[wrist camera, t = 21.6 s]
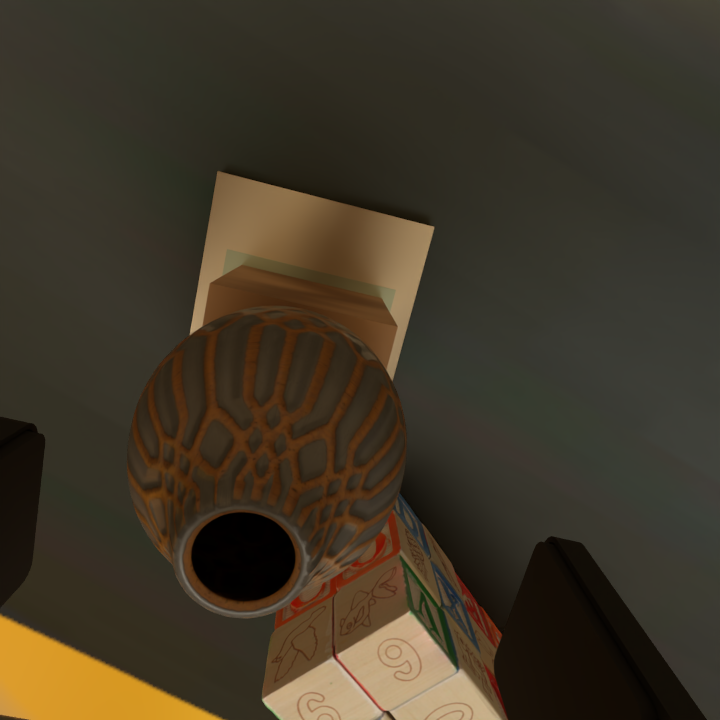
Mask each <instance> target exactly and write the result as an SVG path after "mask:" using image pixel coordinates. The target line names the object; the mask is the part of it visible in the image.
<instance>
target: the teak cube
mask: <svg viewBox="0 0 720 720" xmlns="http://www.w3.org/2000/svg"><path fill="white" fill-rule="evenodd" d="M260 306H288V307H296V308H301V309H305V310H309V311H313V312H316V313H318V314H321V315H324V316H326V317H328V318H331V319H333V320H335V321H336V322H338V323H340V324H342V325H343V326H345V327H346V328H348V329H349V330H351V331H352V332H353V333H355V334H356V335H357V336H358V337H359V338H361V339H362V340H363V341H364V342H365V343H366V344H367V345H368V346H369V347H370V348H371V350H372V351H373V352H374V353H375V355H376V356H377V357H378V359H379V360H380V361H381V363H382V364H383V366H384V367H385V369H386V370H387V366H388V362H389V359H390V355H391V351H392V347H393V344H394V340H395V336H396V332H397V329H398V326H397V324H396V322H395V321H394V319H393V317H392V315H391V314H390V312H389V310H388V308H387V306H386V305H385V303H384V301H383V299H382V298H379V297H375V296H371V295H367V294H363V293H358V292H354V291H350V290H346V289H342V288H337V287H333V286H329V285H325V284H321V283H316V282H312V281H308V280H304V279H299V278H295V277H291V276H287V275H283V274H278V273H274V272H270V271H266V270H262V269H257V268H253V267H249V266H245V265H241V266H239V267H237V268H235V269H234V270H232V271H230V272H228V273H226V274H225V275H223V276H221V277H219V278H218V279H216V280H214V281H212V282H211V283H210V285H209V290H208V296H207V302H206V308H205V313H204V319H203V325H202V326H204V325H206V324H208V323H209V322H211V321H213V320H216V319H218V318H220V317H222V316H225V315H227V314H230V313H233V312H236V311H239V310H243V309H247V308H252V307H260Z"/></svg>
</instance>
